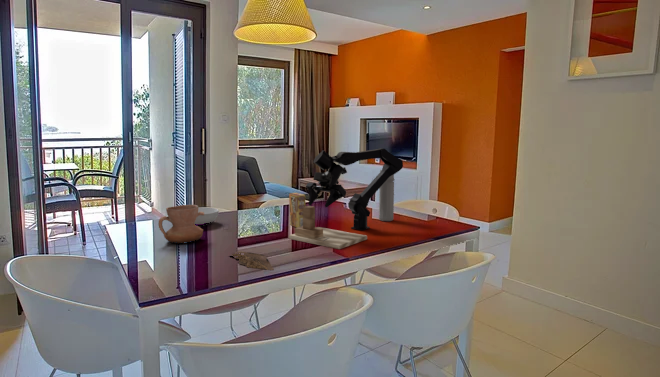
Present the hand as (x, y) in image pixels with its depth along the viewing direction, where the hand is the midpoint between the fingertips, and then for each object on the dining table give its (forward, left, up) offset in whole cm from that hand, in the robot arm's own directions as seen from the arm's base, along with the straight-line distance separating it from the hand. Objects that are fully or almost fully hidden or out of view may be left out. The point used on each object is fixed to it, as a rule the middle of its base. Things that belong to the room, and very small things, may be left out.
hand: (317, 205), depth 179 cm
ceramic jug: (+40, -37, -13) cm, 56 cm away
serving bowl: (+18, -60, -13) cm, 64 cm away
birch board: (+1, +7, -13) cm, 15 cm away
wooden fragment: (+40, +5, -14) cm, 43 cm away
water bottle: (-45, +7, -13) cm, 47 cm away
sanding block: (+6, +1, -12) cm, 13 cm away
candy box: (-9, -19, -13) cm, 25 cm away
